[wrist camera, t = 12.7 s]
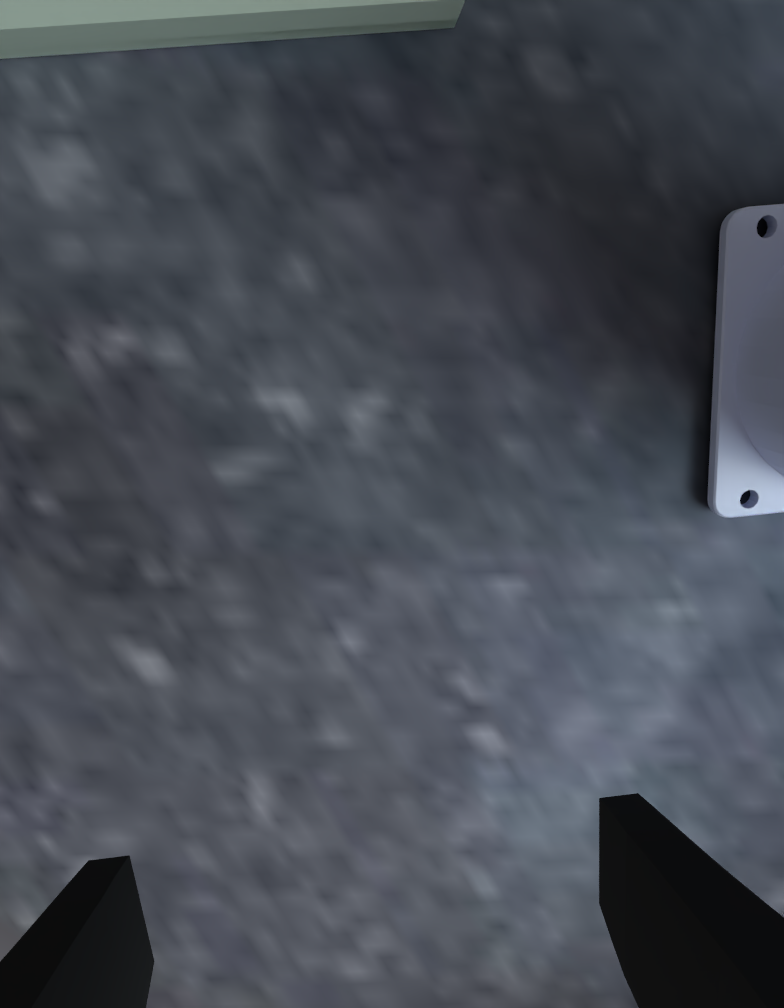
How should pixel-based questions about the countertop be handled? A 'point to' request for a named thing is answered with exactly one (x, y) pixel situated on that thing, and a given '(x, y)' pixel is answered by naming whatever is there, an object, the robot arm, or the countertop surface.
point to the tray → (202, 22)
